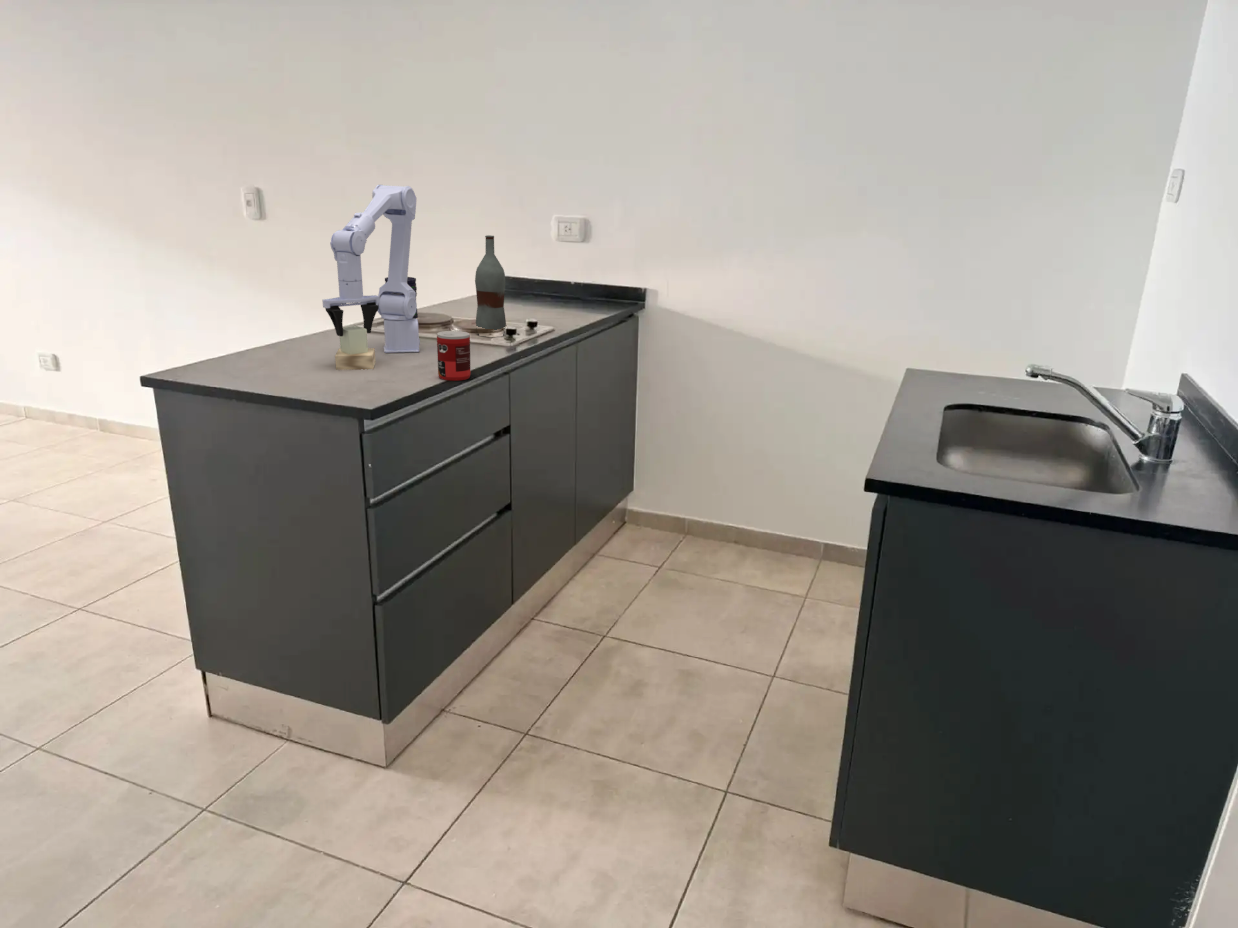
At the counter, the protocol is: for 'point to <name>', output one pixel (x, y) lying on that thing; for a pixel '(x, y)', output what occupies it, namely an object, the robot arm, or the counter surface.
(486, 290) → the bottle
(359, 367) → the maple slab
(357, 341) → the sage block
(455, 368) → the canned food
